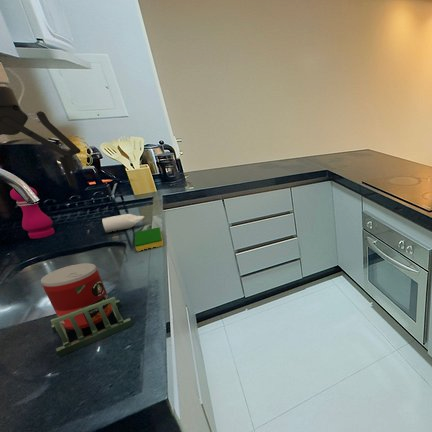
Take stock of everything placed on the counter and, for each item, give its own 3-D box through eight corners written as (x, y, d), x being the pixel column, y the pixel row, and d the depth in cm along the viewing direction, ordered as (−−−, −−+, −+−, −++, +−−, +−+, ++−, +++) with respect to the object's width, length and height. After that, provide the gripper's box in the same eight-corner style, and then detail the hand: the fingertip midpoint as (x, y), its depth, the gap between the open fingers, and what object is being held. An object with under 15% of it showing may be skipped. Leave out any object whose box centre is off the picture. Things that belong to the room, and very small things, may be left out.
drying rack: (59, 357, 55) (42, 324, 52) (53, 330, 62) (38, 300, 59) (132, 325, 63) (121, 295, 60) (120, 304, 70) (110, 277, 67)
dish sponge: (161, 232, 109) (159, 226, 108) (163, 245, 99) (161, 239, 98) (136, 238, 105) (134, 231, 104) (136, 252, 95) (134, 245, 94)
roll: (147, 227, 114) (142, 213, 112) (106, 234, 108) (101, 220, 106) (147, 222, 119) (143, 209, 117) (108, 229, 112) (102, 216, 110)
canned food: (97, 328, 59) (76, 281, 55) (51, 333, 58) (26, 285, 54) (122, 304, 66) (105, 261, 62) (81, 308, 65) (62, 264, 61)
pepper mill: (30, 241, 103) (3, 185, 96) (26, 236, 107) (0, 183, 100) (59, 234, 109) (36, 181, 102) (54, 229, 113) (31, 178, 106)
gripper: (-152, 80, 45) (-75, 210, 53) (74, 87, 63) (107, 183, 71) (-138, 83, 50) (-69, 202, 57) (69, 88, 68) (101, 178, 75)
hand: (29, 191), depth 64 cm, fingers open, 13 cm apart
